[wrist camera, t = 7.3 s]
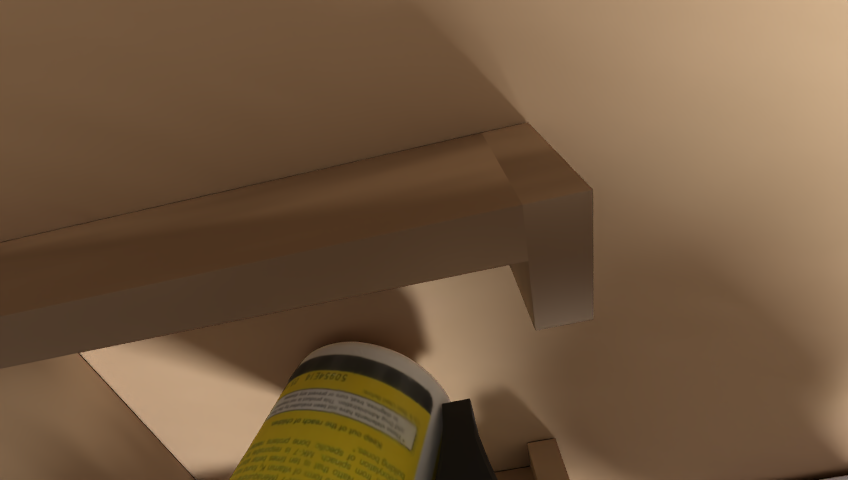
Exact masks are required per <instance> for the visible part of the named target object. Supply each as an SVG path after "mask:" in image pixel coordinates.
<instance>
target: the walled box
mask: <svg viewBox="0 0 848 480" xmlns="http://www.w3.org/2000/svg"><path fill="white" fill-rule="evenodd" d="M506 265H510V267H511V270H512V272H513V275H514V277H515V280H516V282H517V285H518V287H519V290H520V292H521V295H522V297H523V300H524V302H525V305H526V307H527V310H528V312H529V315H530V317H531V320H532V323H533V325H534V328H535V330H541V329H546V328H551V327H556V326H562V325H567V324H572V323H577V322H582V321H588V320H593V189H592V188H591V187H590V186H589V185H588V184H587V183H586V182H585V181H584V180H583V179H582V178H581V177H580V176H579V175H578V174H577V173H576V172H575V171H574V170H573V169H572V168H571V167H570V166H569V164H568V163H567V162H566V161H565V160H564V159H563V158H562V157H561V156H560V155H559V154H558V153H557V152H556V151H555V150H554V149H553V148H552V147H551V146H550V145H549V144H548V143H547V142H546V141H545V140H544V139H543V137H542V136H541V135H540V134H539V133H538V132H537V131H536V130H535V129H534V128H533V127H532V126H531V125H530V124H529V123H528V122H527V123H523V124H518V125H514V126H510V127H505V128H501V129H497V130H492V131H488V132H483V133H479V134H475V135H470V136H466V137H462V138H457V139H453V140H448V141H444V142H440V143H435V144H431V145H426V146H422V147H418V148H413V149H409V150H405V151H400V152H396V153H391V154H387V155H383V156H378V157H374V158H369V159H365V160H361V161H356V162H352V163H348V164H343V165H339V166H334V167H330V168H326V169H321V170H317V171H312V172H308V173H304V174H299V175H295V176H291V177H286V178H282V179H277V180H273V181H269V182H264V183H260V184H255V185H251V186H247V187H242V188H238V189H234V190H229V191H225V192H220V193H216V194H212V195H207V196H203V197H199V198H194V199H190V200H185V201H181V202H177V203H172V204H168V205H163V206H159V207H155V208H150V209H146V210H142V211H137V212H133V213H128V214H124V215H120V216H115V217H111V218H106V219H102V220H98V221H93V222H89V223H85V224H80V225H76V226H71V227H67V228H63V229H58V230H54V231H49V232H45V233H41V234H36V235H32V236H28V237H23V238H19V239H14V240H10V241H6V242H1V243H0V480H195V479H194V478H193V477H192V476H191V475H190V474H189V473H188V472H187V471H186V469H185V468H184V467H183V466H182V465H181V464H180V463H179V462H178V461H177V460H176V459H175V458H174V457H173V455H172V454H171V453H170V452H169V451H168V450H167V449H166V448H165V447H164V446H163V445H162V444H161V442H160V441H159V440H158V439H157V438H156V437H155V436H154V435H153V434H152V433H151V432H150V431H149V429H148V428H147V427H146V426H145V425H144V424H143V423H142V422H141V421H140V420H139V419H138V418H137V416H136V415H135V414H134V413H133V412H132V411H131V410H130V409H129V408H128V407H127V406H126V405H125V404H124V402H123V401H122V400H121V399H120V398H119V397H118V396H117V395H116V394H115V393H114V392H113V391H112V389H111V388H110V387H109V386H108V385H107V384H106V383H105V382H104V381H103V380H102V379H101V378H100V376H99V375H98V374H97V373H96V372H95V371H94V370H93V369H92V368H91V367H90V366H89V365H88V364H87V362H86V361H85V360H84V359H83V358H82V357H81V356H80V355H79V354H78V353H81V352H86V351H90V350H95V349H100V348H105V347H110V346H115V345H120V344H125V343H130V342H134V341H139V340H144V339H149V338H154V337H159V336H164V335H169V334H174V333H178V332H183V331H188V330H193V329H198V328H203V327H208V326H213V325H218V324H223V323H227V322H232V321H237V320H242V319H247V318H252V317H257V316H262V315H267V314H271V313H276V312H281V311H286V310H291V309H296V308H301V307H306V306H311V305H315V304H320V303H325V302H330V301H335V300H340V299H345V298H350V297H355V296H359V295H364V294H369V293H374V292H379V291H384V290H389V289H394V288H399V287H404V286H408V285H413V284H418V283H423V282H428V281H433V280H438V279H443V278H448V277H452V276H457V275H462V274H467V273H472V272H477V271H482V270H487V269H492V268H496V267H501V266H506ZM527 444H528V451H529V457H530V464H531V466H530V467H525V468H519V469H513V470H507V471H501V472H495V475H496V477H497V479H498V480H570V479H569V477H568V474H567V471H566V468H565V465H564V462H563V459H562V456H561V453H560V450H559V448H558V445H557V442H556V439H549V440H543V441H537V442H532V443H527Z"/></svg>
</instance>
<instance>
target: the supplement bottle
mask: <svg viewBox="0 0 848 480" xmlns="http://www.w3.org/2000/svg"><path fill="white" fill-rule="evenodd" d="M449 402H450V399H449V397H448V395H447V394H446V392H445V390H444V389H443V388H442V386H441V385H440V384H439V383H438V382H437V381H436V380H435V379H434V378H433V376H432V375H431V374H429V373H428V372H427V371H426V370H425V369H424V368H423V367H421V366H420V365H419V364H417V363H416V362H414V361H413V360H411V359H410V358H408V357H406V356H404V355H402V354H400V353H398V352H396V351H394V350H391V349H388V348H385V347H382V346H378V345H374V344H369V343H363V342H339V343H334V344H329V345H326V346H323V347H321V348H319V349H316V350H315V351H313V352H312V353H310V354H309V355H308V356H307V357H306V358H305V359H304V360H303V361H302V362H301V364H300V365H299V367H298V368H297V369H296V371H295V372H294V373H293V375H292V376H291V378H290V380H289V382H288V384H287V386H286V388H285V389H284V391H283V392H282V394H281V395H280V397H279V399H278V401H277V402H276V404H275V405H274V407H273V409H272V410H271V412H270V414H269V415H268V417H267V418H266V420H265V422H264V424H263V425H262V427H261V429H260V430H259V432H258V434H257V435H256V437H255V438H254V440H253V442H252V443H251V445H250V447H249V449H248V450H247V452H246V453H245V455H244V456H243V458H242V460H241V461H240V463H239V465H238V466H237V468H236V469H235V471H234V473H233V474H232V476H231V478H230V479H229V480H435V478H436V473H437V467H438V462H439V455H440V448H441V440H442V431H443V420H442V404H443V403H449Z"/></svg>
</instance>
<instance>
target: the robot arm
mask: <svg viewBox="0 0 848 480" xmlns="http://www.w3.org/2000/svg"><path fill="white" fill-rule="evenodd" d="M442 420H443V431H442V440H441V448H440V455H439V462H438V467H437V473H436V478H435V480H498V479H497V477H496V475H495V473H494V471H493V469H492V466H491V464H490V462H489V460H488V457H487V455H486V453H485V450H484V447H483V445H482V442H481V440H480V437H479V434H478V430H477V426H476V421H475V417H474V413H473V409H472V405H471V401H470V399H465V400H460V401H454V402H449V403H443V404H442ZM821 480H848V475H846V476H839V477H833V478H827V479H821Z"/></svg>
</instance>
